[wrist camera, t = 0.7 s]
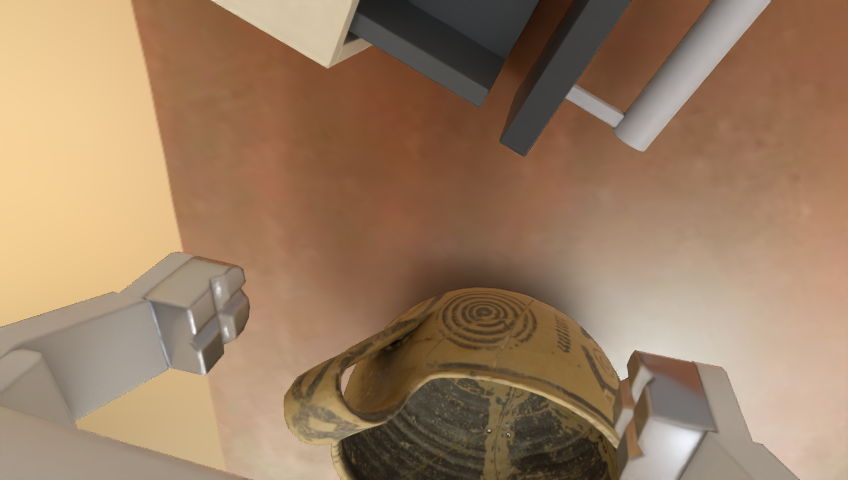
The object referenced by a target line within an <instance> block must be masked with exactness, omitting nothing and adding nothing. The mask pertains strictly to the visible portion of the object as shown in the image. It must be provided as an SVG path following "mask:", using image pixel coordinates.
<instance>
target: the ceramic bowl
mask: <svg viewBox="0 0 848 480" xmlns="http://www.w3.org/2000/svg"><path fill="white" fill-rule="evenodd" d="M356 363H357V364H356ZM354 364H356V366H355V368H354V370H353V372H352V374H351V376H350V378H349V381H348V384H347V386H346V389H345V392H344V395H342V391H341V377H342V375H343V373H344V371H345V370H346V369H347V368H348V367H350V366H352V365H354ZM619 384H620V378H619V377H618V375H617V373H616V371H615V370H614V368H613V366H612V365H611V363H610V361H609V360H608V358H607V357H606V355H605V354H604V352H603V351H602V349H601V348H600V347H599V345H598V344H597V343H596V342H595V341H594V340H593V338H592V337H591V336H590V335H589V334H588V333H587V332H586V331H585V330H584V329H583V328H582V327H581V326H580V325H579V324H577V323H576V322H574V321H573V320H572V319H570V318H569V317H568V316H566V315H565V314H563V313H562V312H560V311H558V310H557V309H555V308H554V307H552V306H550V305H548V304H545V303H543V302H541V301H538V300H536V299H534V298H533V297H530V296H527V295H524V294H521V293H516V292H512V291H507V290H502V289H496V288H478V287H477V288H464V289H458V290H454V291H450V292H445V293H442V294H439V295H437V296H434V297H432V298H429V299H427V300H424V301H422V302H421V303H419V304H417V305H416V306H414V307H412V308H411V309H409V310H408V311H406V312H405V313H403V314H402V315H400V316H399V317H397V318H396V319H395V320H394V321H393V322H392V323H390V324H389V325H388V326H387V327H386V328H385V329H384V330H382V331H381V332H379V333H377V334H376V335H374V336H372V337H370V338H368V339H366V340H364V341H362V342H360V343H358V344H356V345H354V346H352V347H350V348H349V349H348V350H346V351H345V352H343V353H341V354H340V355H338V356H336V357H333V358H331V359H329V360H327V361H324V362H322V363H321V364H319V365H317V366H315V367H313V368H312V369H310V370H308V371H307V372H305V373H303V374H302V375H300V376H299V377H297V379H296V380H295V381H294V383H293V384H292V386H291V387H290V389H289V390H288V392H287V393H286V395H285V397H284V416H285V421H286V423H287V426H288V429H289V430H290V431H291V432H292V433H293V434H294V435H295V436H296V437H297V438H298V439H299V440H300V441H302V442H304V443H306V444H310V445H314V446H320V445H327V444H331V456H332V460H333V465H334V467H335V470H336V472H337V474H338V476H339V478H340V480H619V476H618V466H617V457H616V449H617V447H618V445H619V442H620V440H621V439H620V437H619V436H618V435H617V433H616V432H615V431H614V424H613V407H614V402H615V396H616V392H617V390H618V387H619ZM487 429H490V430H491V432H488V431H487ZM507 433H510V437H509V436H508V435H507Z"/></svg>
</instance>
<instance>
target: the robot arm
mask: <svg viewBox="0 0 848 480" xmlns="http://www.w3.org/2000/svg"><path fill="white" fill-rule="evenodd" d="M245 282H246V280H245V275H244V271H243V269H242V268H241V267H239V266H238V265H233V264H229V263H225V262H221V261H217V260H213V259H208V258H204V257H200V256H194V255H190V254H186V253H181V252H175V253H170V254H169V255H168V256H167V257H165V258H164V259H163V260H161V261H160V262H159V263H157V264H156V265H155V266H154V267H152V268H151V269H150V270H149V271H147V272H146V273H144V274H143V275H142V276H141V277H139V278H138V279H137V280H135V281H134V282H133V283H132V284H130V285H129V286H128V287H127V288H125V289H124V290H122V291H121V292H120V293H116V292H111V293H107V294H104V295H101V296H98V297H94V298H91V299H88V300H85V301H82V302H79V303H75V304H72V305H69V306H66V307H63V308H60V309H56V310H53V311H50V312H47V313H43V314H40V315H37V316H34V317H31V318H28V319H24V320H21V321H18V322H15V323H12V324H9V325H6V326H2V327H0V480H252V479H249V478H245V477H242V476H238V475H235V474H232V473H228V472H225V471H222V470H218V469H215V468H211V467H208V466H205V465H201V464H198V463H194V462H191V461H187V460H184V459H181V458H177V457H174V456H171V455H167V454H163V453H160V452H157V451H154V450H150V449H147V448H143V447H140V446H136V445H133V444H130V443H127V442H123V441H120V440H116V439H113V438H110V437H106V436H103V435H99V434H96V433H93V432H89V431H86V430H82V429H79V428H78V427H77V425H76V423H75V421H76V420H78V419H80V418H82V417H84V416H85V415H87V414H89V413H91V412H93V411H94V410H96V409H98V408H100V407H102V406H103V405H105V404H107V403H109V402H111V401H112V400H114V399H116V398H118V397H120V396H121V395H123V394H125V393H127V392H129V391H130V390H132V389H134V388H136V387H138V386H140V385H141V384H143V383H145V382H147V381H149V380H150V379H152V378H154V377H156V376H158V375H159V374H161V373H163V372H165V371H167V370H168V367H169V368H173V369H178V370H183V371H187V372H191V373H196V374H200V375H204V376H205V375H206V374H207V373H208V372H209V371H210V369H211V368H212V367H213V366H214V365H215V364H216V362H217V361H218V360H219V359H220V358H221V356H222V355H223V354H224V344H226V343H228V342H230V341H233V340H235V339H237V337H238V336H239V335H240V333H241V332H242V331H243V330H244V327H245V325H246V323H247V320H248V318H249V309H250V305H249V298H248V297H247V296H246V294H245V293H244V292H243V291H242V289H241V287H242V286H243V285H244V283H245ZM627 369H628V378H626V379H624V380H622V381H620V384H619V387H618V390H617V392H616V396H615V402H614V407H613V424H614V431H615V432H616V433H617V435H618V436H619V437H620V439H621V440H620V442H619V445H618V447H617V449H616V457H617V466H618V476H619V480H800V479H799V478H798V477H797V476H795V475H794V474H793V473H792V472H791V471H790V470H789V469H788V468H787V467H786V466H785V465H784V464H783V463H782V462H781V461H780V460H779V459H778V458H776V457H775V456H774V455H773V454H772V453H771V452H770V451H769V450H768V449H767V448H766V447H765V446H764V445H763V444H760V443H756V442H753V441H752V438H751V435H750V433H749V430H748V427H747V425H746V422H745V420H744V417H743V414H742V412H741V409H740V406H739V404H738V401H737V399H736V396H735V393H734V391H733V388H732V385H731V383H730V380H729V378H728V375H727V372H726V371H725V370H724V369H723V368H722V367H719V366H713V365H708V364H703V363H698V362H693V361H692V362H689V361H685V360H680V359H675V358H670V357H665V356H661V355H656V354H651V353H646V352H641V351H636V350H635V351H634V352H633V354H632V355H631V357H630V359H629V361H628V364H627Z"/></svg>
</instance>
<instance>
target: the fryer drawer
mask: <svg viewBox="0 0 848 480" xmlns="http://www.w3.org/2000/svg"><path fill="white" fill-rule="evenodd" d="M631 1H632V0H573V1H572V3H571V5H570V6H569V8H568V9H567V11H566V13H565V14H564V16H563V18H562V19H561V21H560V22H559V24H558V26H557V27H556V29H555V30H554V32H553V34H552V35H551V37H550V39H549V40H548V42H547V43H546V45H545V47H544V48H543V50H542V52H541V53H540V55H539V56H538V58H537V60H536V61H535V63H534V65H533V66H532V68H531V69H530V71H529V73H528V74H527V76H526V77H525V79H524V81H523V82H522V84H521V86H520V87H519V89H518V90H517V92H516V94H515V96H514V99H513V102H512V105H511V108H510V111H509V114H508V117H507V120H506V123H505V126H504V129H503V131H502V134H501V137H500V140H499V142H500V143H502V144H503V145H505V146H507V147H508V148H510V149H512V150H513V151H515V152H517V153H519V154H520V155H522V156H526V155H527V153H528V152H529V150H530V149H531V147H532V146H533V144H534V143H535V141H536V140H537V138H538V137H539V136H540V134H541V133H542V131H543V130H544V128H545V127H546V125H547V124H548V122H549V121H550V119H551V118H552V117H553V115H554V114H555V112H556V111H557V109H558V108H559V106H560V105H561V103H562V102H563V100H564V99H567V100H569V101H570V102H572V103H574V104H576V105H577V106H579V107H581V108H582V109H584V110H586V111H587V112H589V113H591V114H592V115H594V116H596V117H597V118H599V119H601V120H602V121H604V122H606V123H607V124H609V125H611V126H612V127H613V129H612V131H613V133H614V134H615V135H616V136H617V137H618V138H619V139H620V140H621V141H623V142H624V143H626V144H627V145H629V146H630V147H632V148H634V149H636V150H639V151H645V150H646V148H647V147H648V146H649V145H650V144H651V142H652V141H653V140H654V139H655V138H656V137H657V135H658V134H659V133H660V132H661V131H662V129H663V128H664V127H665V126H666V125H667V124H668V122H669V121H670V120H671V119H672V118H673V116H674V115H675V114H676V113H677V112H678V110H679V109H680V108H681V107H682V106H683V105H684V103H685V102H686V101H687V100H688V99H689V97H690V96H691V95H692V94H693V93H694V92H695V90H696V89H697V88H698V87H699V86H700V84H701V83H702V82H703V81H704V80H705V79H706V77H707V76H708V75H709V74H710V73H711V71H712V70H713V69H714V68H715V67H716V66H717V64H718V63H719V62H720V61H721V60H722V58H723V57H724V56H725V55H726V54H727V52H728V51H729V50H730V49H731V48H732V47H733V45H734V44H735V43H736V42H737V41H738V39H739V38H740V37H741V36H742V35H743V34H744V32H745V31H746V30H747V29H748V28H749V26H750V25H751V24H752V23H753V22H754V21H755V19H756V18H757V17H758V16H759V15H760V13H761V12H762V11H763V10H764V9H765V8H766V6H767V5H768V4H769V3H770V2H771V0H712V1H711V3H710V4H709V5H708V6H707V8H706V9H705V10H704V12H703V13H702V14H701V15H700V17H699V18H698V19H697V21H696V22H695V23H694V24H693V26H692V27H691V28H690V30H689V31H688V32H687V33H686V35H685V36H684V37H683V39H682V40H681V41H680V42H679V44H678V45H677V46H676V48H675V49H674V50H673V51H672V53H671V54H670V55H669V57H668V58H667V59H666V60H665V62H664V63H663V64H662V66H661V67H660V68H659V69H658V71H657V72H656V73H655V75H654V76H653V77H652V78H651V80H650V81H649V82H648V84H647V85H646V86H645V88H644V89H643V90H642V91H641V93H640V94H639V95H638V97H637V98H636V99H635V100H634V102H633V103H632V104H631V106H630V107H629V108H628V109H627V111H626V112H625V113H624V114H623V112H622V111H620V110H618V109H617V108H615V107H613V106H612V105H610V104H608V103H607V102H605V101H603V100H602V99H600V98H598V97H597V96H595V95H593V94H592V93H590V92H588V91H587V90H585V89H583V88H582V87H580V86H578V85H577V84H575V83H576V81H577V80H578V79H579V77H580V76H581V74H582V73H583V71H584V70H585V68H586V67H587V65H588V64H589V63H590V61H591V60H592V58H593V57H594V55H595V54H596V52H597V51H598V49H599V48H600V46H601V45H602V44H603V42H604V41H605V39H606V38H607V36H608V35H609V33H610V32H611V30H612V29H613V27H614V26H615V25H616V23H617V22H618V20H619V19H620V17H621V16H622V14H623V13H624V11H625V10H626V8H627V7H628V6H629V4H630V3H631ZM539 2H540V0H359V3H358V5H357V8H356V11H355V14H354V16H353V19H352V22H351V24H350V27H349V30H348V31H350V32H352V33H353V34H355V35H357V36H358V37H360V38H362V39H363V40H365V41H367V42H369V43H370V44H372V45H374V46H375V47H377V48H379V49H380V50H382V51H384V52H385V53H387V54H389V55H391V56H392V57H394V58H396V59H397V60H399V61H401V62H402V63H404V64H406V65H407V66H409V67H411V68H413V69H414V70H416V71H418V72H419V73H421V74H423V75H424V76H426V77H428V78H430V79H431V80H433V81H435V82H436V83H438V84H440V85H441V86H443V87H445V88H446V89H448V90H450V91H452V92H453V93H455V94H457V95H458V96H460V97H462V98H463V99H465V100H467V101H468V102H470V103H472V104H474V105H475V106H477V107H481V105H482V103H483V102H484V100H485V98H486V97H487V95H488V93H489V91H490V89H491V88H492V86H493V84H494V82H495V80H496V78H497V76H498V74H499V72H500V70H501V68H502V67H503V65H504V63H505V61H506V59H507V57H508V56H509V54H510V52H511V50H512V49H513V47H514V45H515V44H516V42H517V40H518V38H519V37H520V35H521V33H522V31H523V30H524V28H525V26H526V25H527V23H528V21H529V19H530V18H531V16H532V14H533V12H534V11H535V9H536V7H537V6H538V4H539Z"/></svg>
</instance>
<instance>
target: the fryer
mask: <svg viewBox="0 0 848 480" xmlns="http://www.w3.org/2000/svg"><path fill="white" fill-rule="evenodd" d="M211 1H213V2H215V3H216V4H218V5H220V6H222V7H223V8H225V9H227V10H228V11H230V12H232V13H233V14H235V15H237V16H239V17H240V18H242V19H244V20H245V21H247V22H249V23H251V24H252V25H254V26H256V27H257V28H259V29H261V30H263V31H264V32H266V33H268V34H269V35H271V36H273V37H274V38H276V39H278V40H280V41H281V42H283V43H285V44H286V45H288V46H290V47H292V48H293V49H295V50H297V51H298V52H300V53H302V54H304V55H305V56H307V57H309V58H310V59H312V60H314V61H315V62H317V63H319V64H321V65H322V66H324V67H326V68H330V67H331V66H333V65H335V64H337V63H339V62H341V61H343V60H345V59H347V58H349V57H351V56H353V55H355V54H357V53H359V52H360V51H362V50H364V49H366V48H368V47H370V46H372V44H370V43H369V42H367V41H365V40H363V39H362V38H360V37H358V36H357V35H355V34H353V33H352V32H350V31H348V30H349V27H350V24H351V22H352V19H353V16H354V14H355V11H356V8H357V5H358V3H359V0H211Z"/></svg>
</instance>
